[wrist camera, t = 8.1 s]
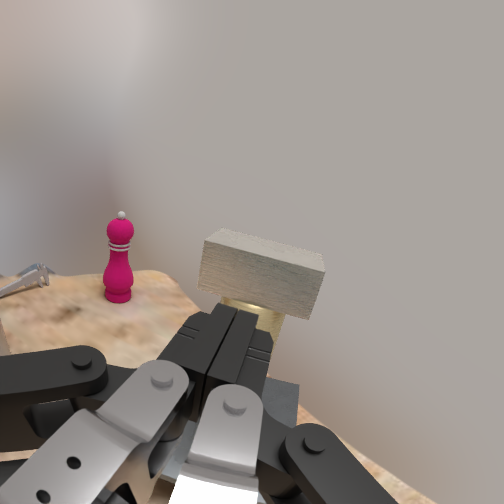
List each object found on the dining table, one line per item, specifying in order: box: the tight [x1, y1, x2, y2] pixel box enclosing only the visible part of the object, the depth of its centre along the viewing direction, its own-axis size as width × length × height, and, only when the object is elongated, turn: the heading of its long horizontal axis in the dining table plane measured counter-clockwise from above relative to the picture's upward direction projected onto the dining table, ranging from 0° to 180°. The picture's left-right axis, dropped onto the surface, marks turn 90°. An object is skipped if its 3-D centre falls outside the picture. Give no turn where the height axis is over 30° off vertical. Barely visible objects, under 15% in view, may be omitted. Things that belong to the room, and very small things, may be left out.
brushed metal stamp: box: [159, 228, 325, 504], centre depth 23 cm, size 18×16×21 cm
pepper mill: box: [103, 211, 134, 303], centre depth 56 cm, size 7×7×20 cm
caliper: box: [0, 263, 49, 297], centre depth 44 cm, size 20×1×6 cm, turn 149°
